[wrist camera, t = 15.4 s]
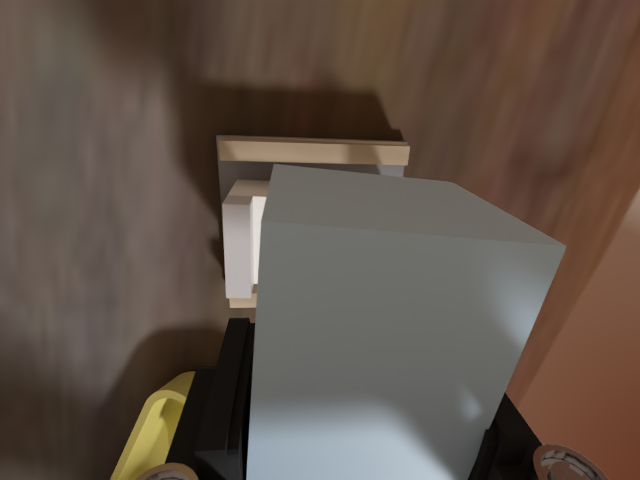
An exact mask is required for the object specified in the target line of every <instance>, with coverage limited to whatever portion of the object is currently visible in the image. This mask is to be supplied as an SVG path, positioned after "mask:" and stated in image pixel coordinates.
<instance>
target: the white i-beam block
mask: <svg viewBox="0 0 640 480" xmlns="http://www.w3.org/2000/svg"><path fill="white" fill-rule="evenodd" d="M269 183H270V181H260V180H238V179H237V181H236V182H235V184H234V185H233V187H232V189H231V190H230V192H229V194H228V195H227V197H226V199H225V200H224V202H223V203H222V213H223V236H224V259H225V282H226V298H251V296H252V290H253V285H254V284H258V268H259V250H260V233H261V219H262V215H263V210H264V206H265V201H266V197H267V192H268V188H269Z"/></svg>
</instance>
